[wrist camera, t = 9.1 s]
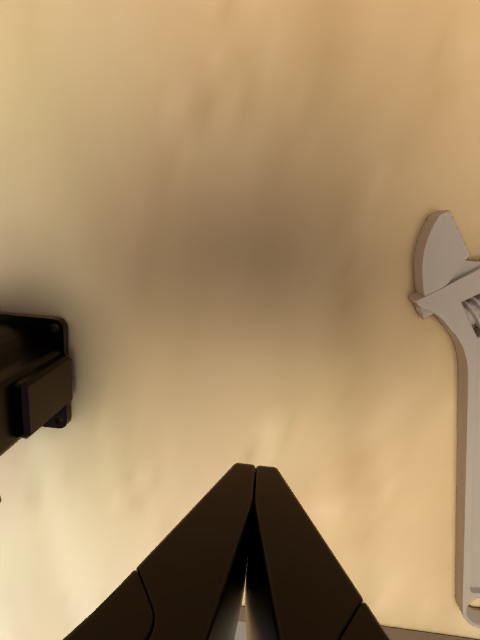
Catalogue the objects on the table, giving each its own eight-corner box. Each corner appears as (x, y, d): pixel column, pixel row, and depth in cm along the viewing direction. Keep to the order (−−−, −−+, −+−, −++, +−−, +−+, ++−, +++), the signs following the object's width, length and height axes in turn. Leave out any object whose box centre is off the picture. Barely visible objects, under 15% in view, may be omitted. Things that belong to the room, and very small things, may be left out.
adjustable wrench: (496, 604, 24) (513, 634, 23) (389, 600, 25) (397, 628, 23) (554, 179, 18) (583, 175, 16) (410, 188, 19) (423, 185, 17)
